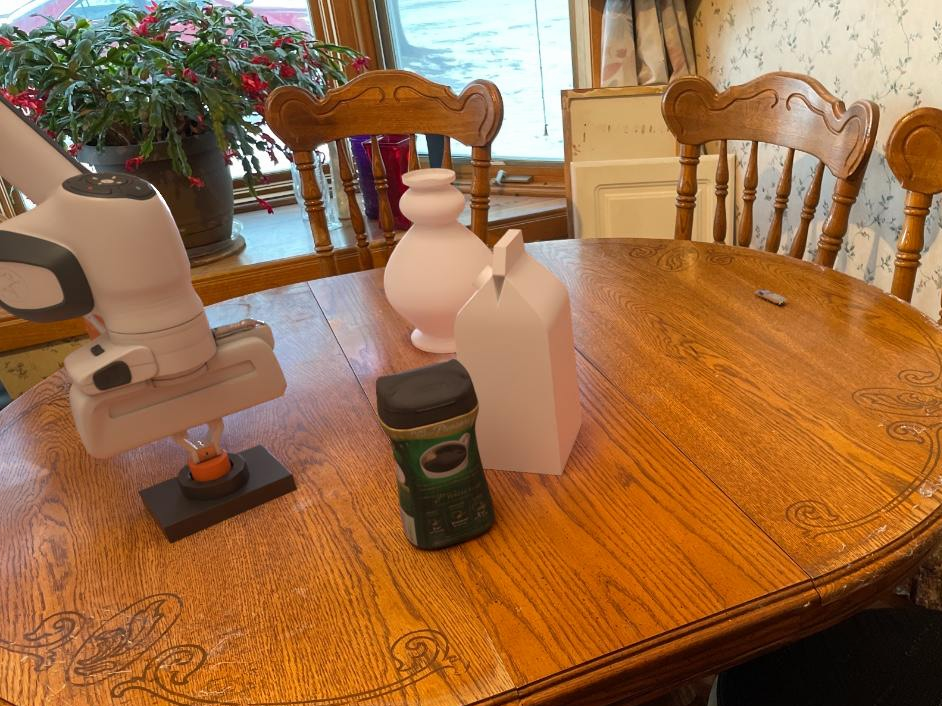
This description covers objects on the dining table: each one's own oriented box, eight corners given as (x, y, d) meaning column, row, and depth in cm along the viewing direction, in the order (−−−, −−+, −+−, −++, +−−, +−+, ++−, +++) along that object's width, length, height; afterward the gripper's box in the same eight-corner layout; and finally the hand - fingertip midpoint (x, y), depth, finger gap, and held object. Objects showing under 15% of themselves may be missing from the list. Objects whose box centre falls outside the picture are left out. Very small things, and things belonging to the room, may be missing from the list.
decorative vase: (528, 324, 127) (515, 166, 113) (464, 370, 114) (440, 197, 100) (440, 307, 134) (418, 156, 121) (370, 348, 121) (337, 184, 107)
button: (200, 487, 84) (194, 472, 83) (188, 472, 87) (182, 457, 86) (237, 473, 87) (232, 457, 86) (224, 458, 89) (219, 443, 88)
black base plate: (170, 544, 82) (157, 514, 80) (144, 506, 88) (132, 477, 85) (297, 489, 90) (288, 460, 88) (266, 458, 95) (257, 430, 93)
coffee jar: (479, 493, 88) (458, 344, 78) (504, 532, 82) (485, 376, 72) (394, 519, 85) (361, 366, 74) (414, 561, 79) (381, 401, 68)
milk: (561, 475, 91) (547, 258, 76) (467, 467, 93) (436, 255, 78) (582, 422, 101) (572, 222, 86) (496, 416, 102) (473, 219, 88)
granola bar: (789, 304, 131) (790, 298, 130) (779, 307, 130) (780, 301, 129) (762, 292, 136) (762, 286, 135) (752, 295, 135) (752, 289, 134)
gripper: (255, 305, 86) (285, 413, 93) (44, 364, 74) (98, 482, 82) (278, 321, 82) (308, 433, 89) (59, 387, 71) (115, 508, 78)
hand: (206, 457), depth 86 cm, fingers closed, pressing on button
